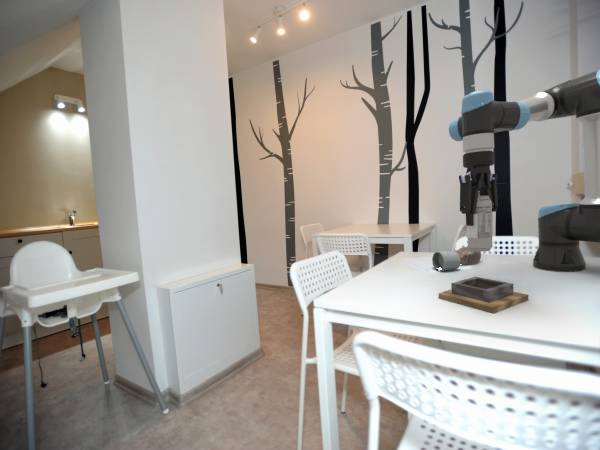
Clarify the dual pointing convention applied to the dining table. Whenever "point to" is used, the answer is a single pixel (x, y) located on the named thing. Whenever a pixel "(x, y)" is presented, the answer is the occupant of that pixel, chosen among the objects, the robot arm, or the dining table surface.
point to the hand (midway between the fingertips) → (479, 236)
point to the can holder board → (484, 294)
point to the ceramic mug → (446, 260)
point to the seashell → (468, 255)
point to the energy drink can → (482, 225)
